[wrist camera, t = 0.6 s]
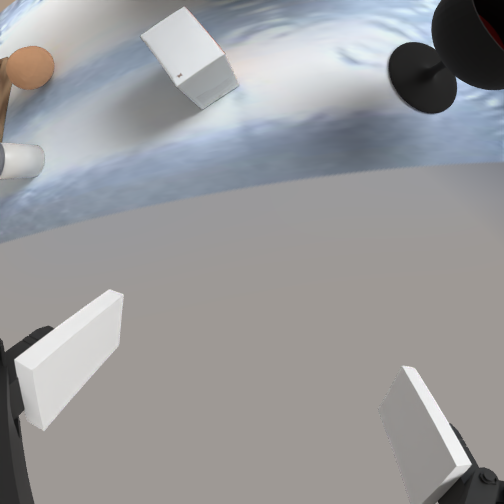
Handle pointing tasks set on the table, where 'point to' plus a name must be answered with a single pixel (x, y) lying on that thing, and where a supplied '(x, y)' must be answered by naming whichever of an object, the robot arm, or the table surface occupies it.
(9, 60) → the egg
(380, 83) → the table surface
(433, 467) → the robot arm
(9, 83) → the tray
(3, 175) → the shaker
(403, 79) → the wine glass
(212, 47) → the small box
